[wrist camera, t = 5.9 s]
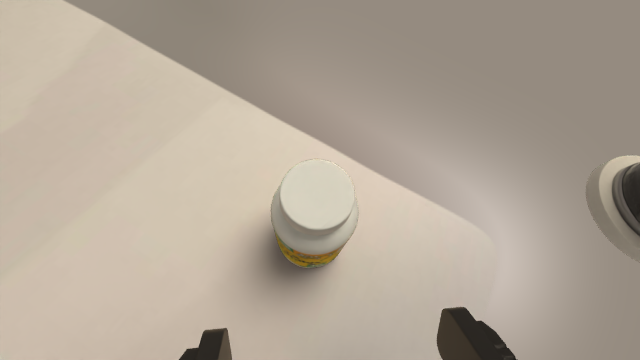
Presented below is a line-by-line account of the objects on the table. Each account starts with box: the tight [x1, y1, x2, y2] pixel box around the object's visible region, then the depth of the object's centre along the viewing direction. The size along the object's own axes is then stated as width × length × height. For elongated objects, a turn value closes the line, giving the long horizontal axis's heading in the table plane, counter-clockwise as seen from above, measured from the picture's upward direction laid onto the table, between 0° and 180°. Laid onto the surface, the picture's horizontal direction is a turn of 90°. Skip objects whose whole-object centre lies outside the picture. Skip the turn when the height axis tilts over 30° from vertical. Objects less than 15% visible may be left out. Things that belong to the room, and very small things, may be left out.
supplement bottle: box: [271, 159, 359, 268], centre depth 20 cm, size 5×5×10 cm
